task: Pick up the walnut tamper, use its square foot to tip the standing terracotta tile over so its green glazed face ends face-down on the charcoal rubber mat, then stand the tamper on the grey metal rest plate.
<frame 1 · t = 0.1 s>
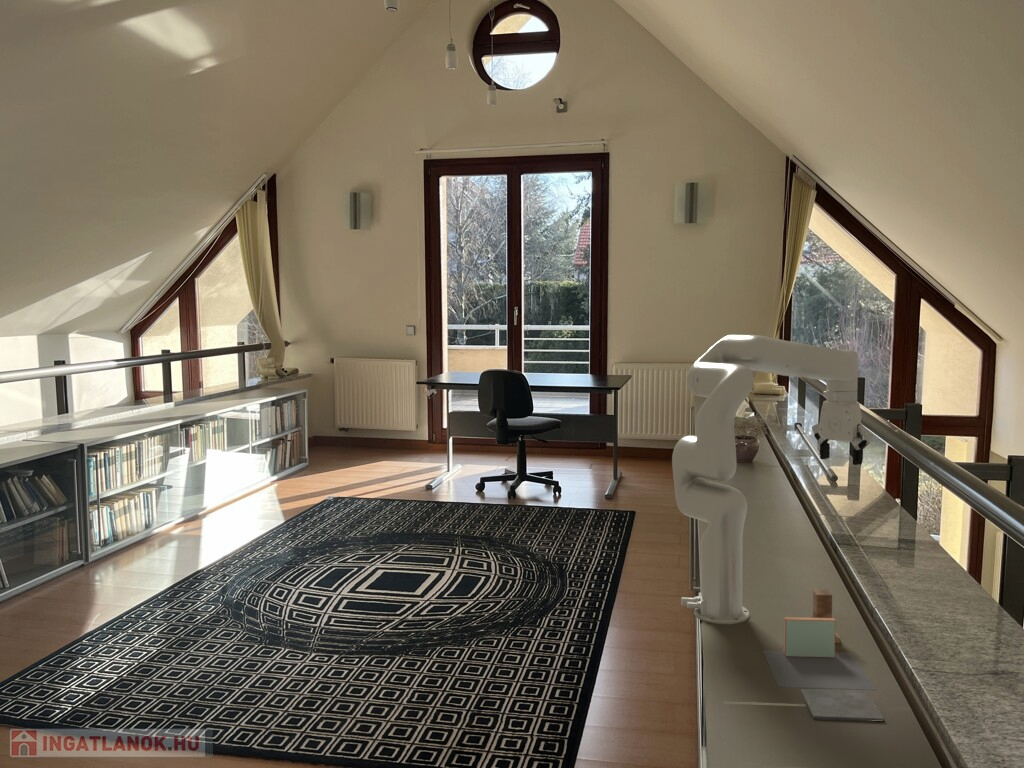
hand: (840, 461, 212), 31 cm above the table, tool pointing down, fingers open, 9 cm apart
tile: (809, 655, 167), resting on mat
rest plate: (840, 706, 147), on the table
mat: (816, 671, 161), on the table
tamper: (822, 638, 176), on the table
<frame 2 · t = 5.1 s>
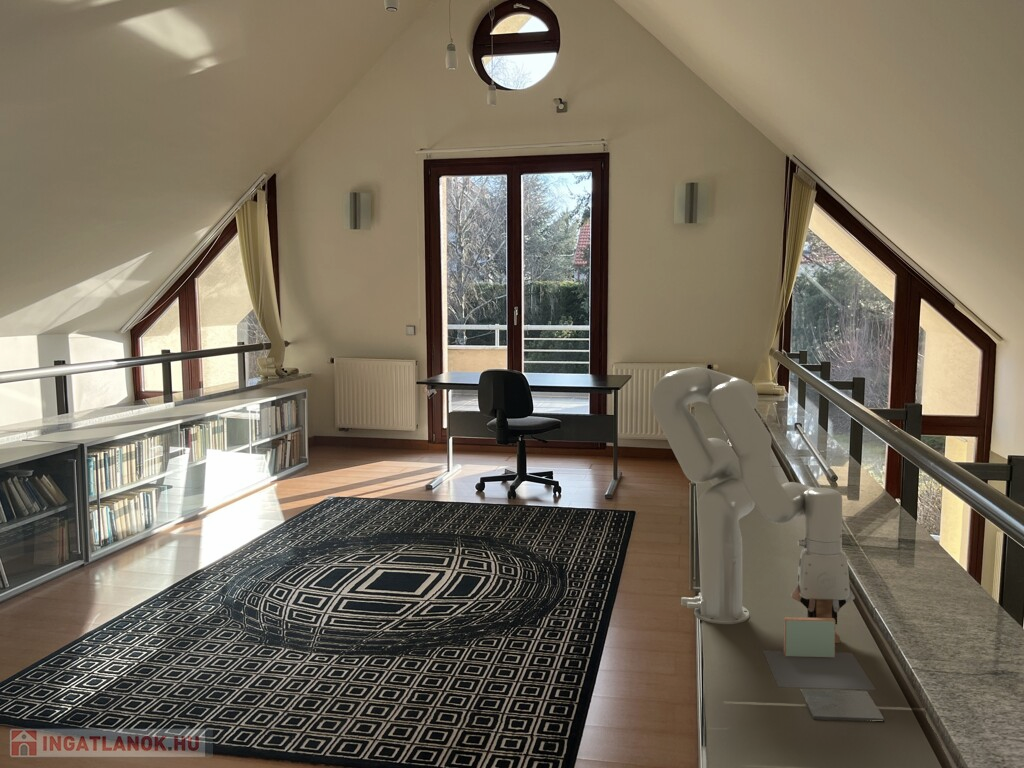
hand: (822, 626, 176), 3 cm above the table, tool pointing down, fingers closed on tamper, 3 cm apart
tamper: (822, 638, 176), on the table, touching gripper
everything else where it was.
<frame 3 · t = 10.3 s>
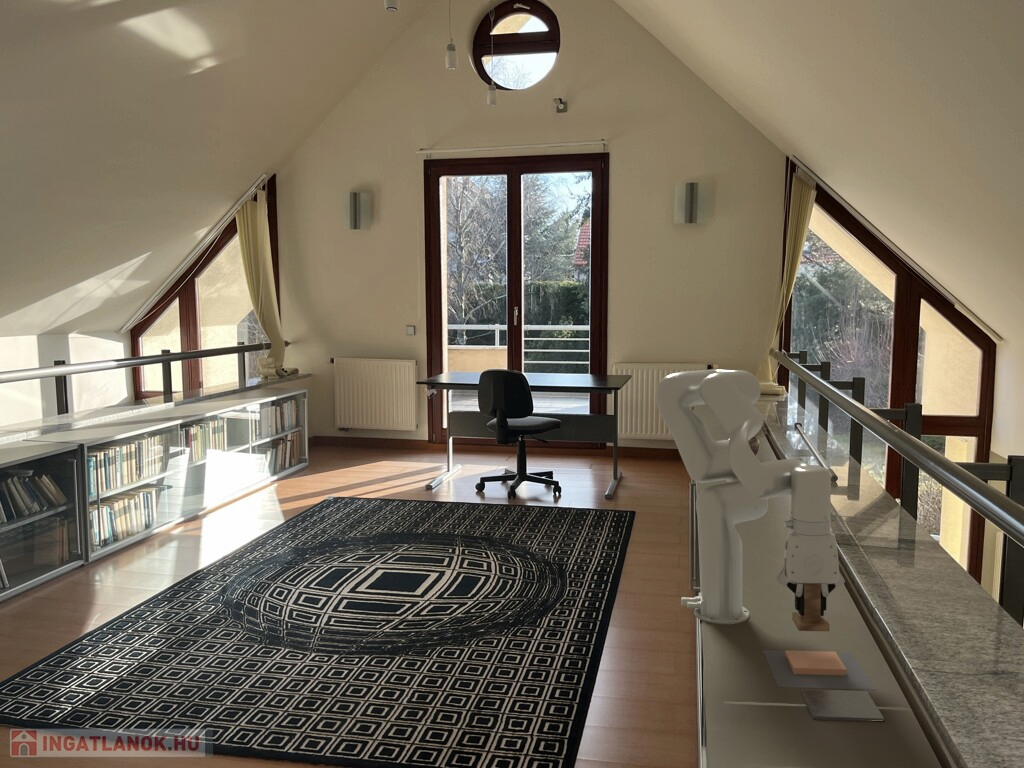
hand: (810, 612, 166), 10 cm above the table, tool pointing down, fingers closed on tamper, 3 cm apart
tile: (810, 654, 166), point 1 cm above the table, tilted 90°, touching mat
tamper: (810, 625, 166), point 7 cm above the table, touching gripper
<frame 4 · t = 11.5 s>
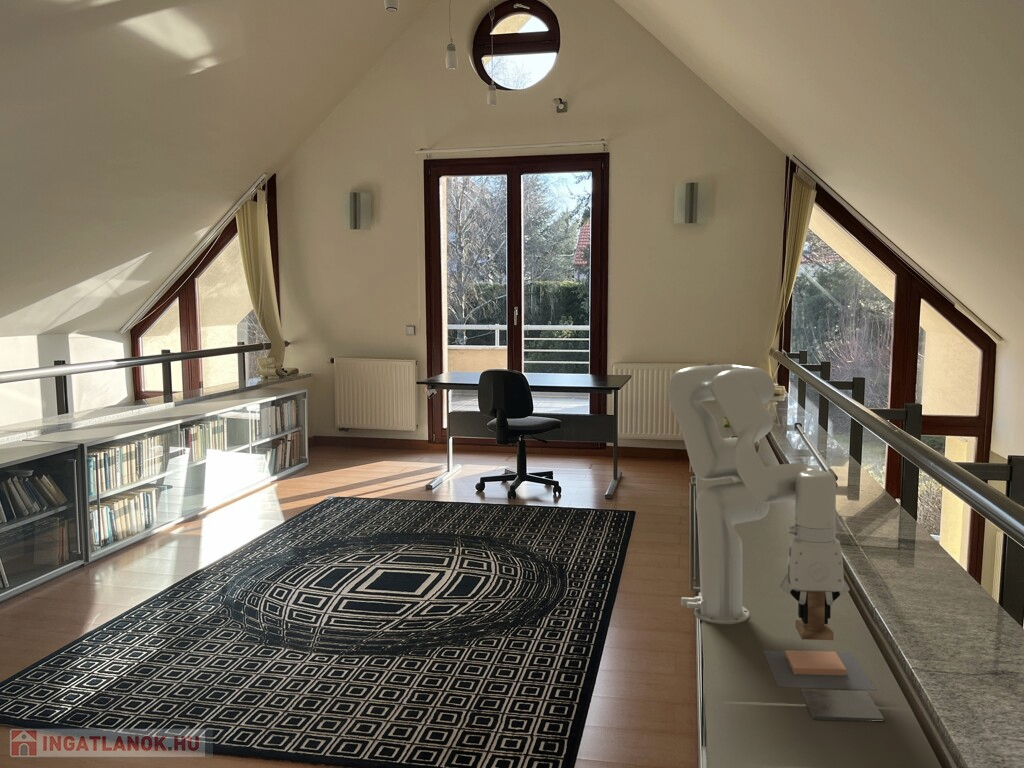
hand: (814, 620, 162), 10 cm above the table, tool pointing down, fingers closed on tamper, 3 cm apart
tamper: (814, 633, 163), point 7 cm above the table, touching gripper
everything else where it was.
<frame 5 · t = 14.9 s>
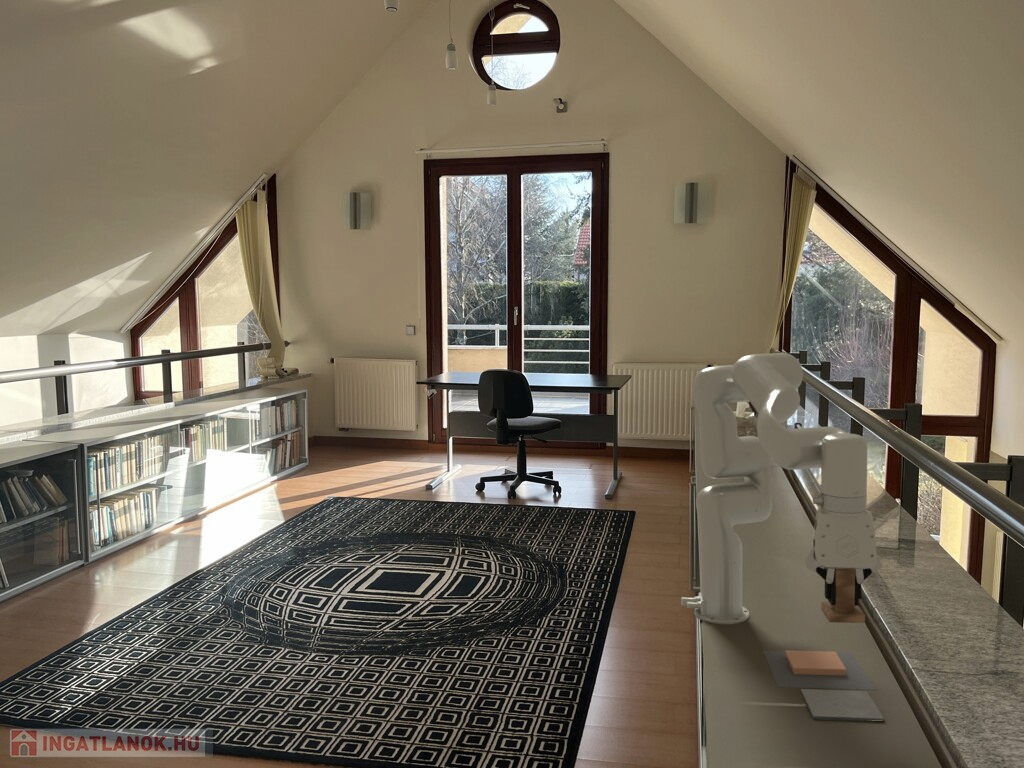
hand: (842, 601, 145), 20 cm above the table, tool pointing down, fingers closed on tamper, 3 cm apart
tamper: (842, 616, 145), point 17 cm above the table, touching gripper
everything else where it was.
when the fingers open (4 cm above the table, at t = 17.8 s): tamper stays where it is, resting on rest plate.
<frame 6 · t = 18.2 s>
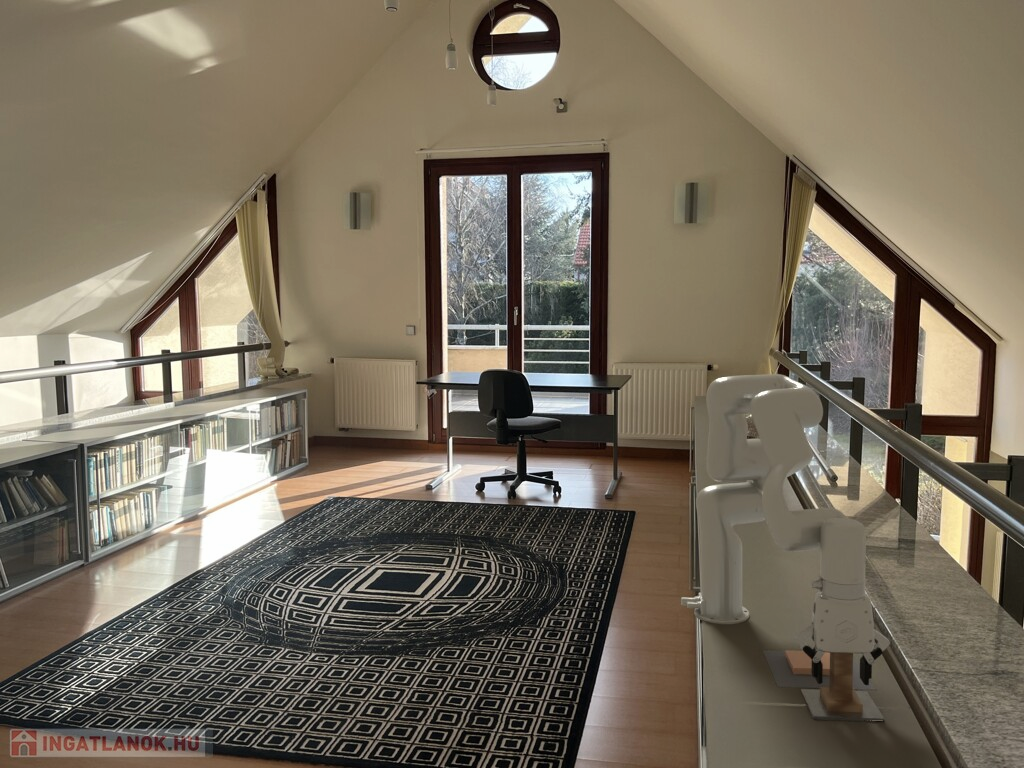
hand: (841, 680, 147), 5 cm above the table, tool pointing down, fingers open, 7 cm apart
tamper: (840, 703, 147), point 1 cm above the table, touching rest plate
everything else where it was.
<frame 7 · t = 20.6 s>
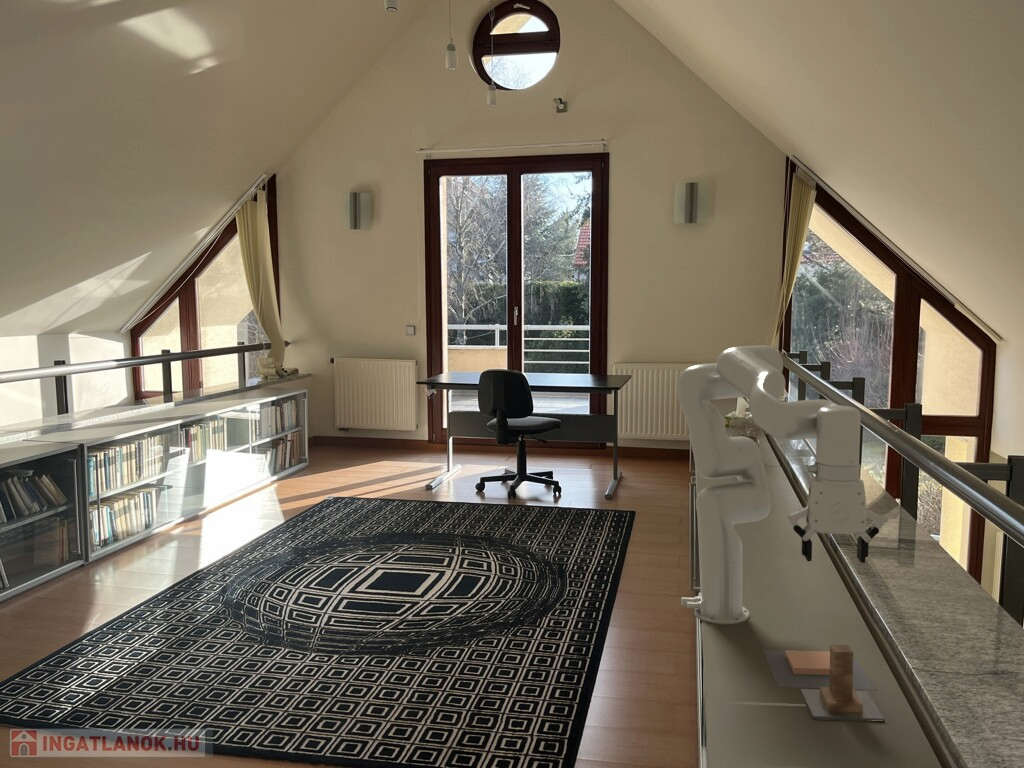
hand: (834, 559, 153), 25 cm above the table, tool pointing down, fingers open, 9 cm apart
nothing on the table moved.
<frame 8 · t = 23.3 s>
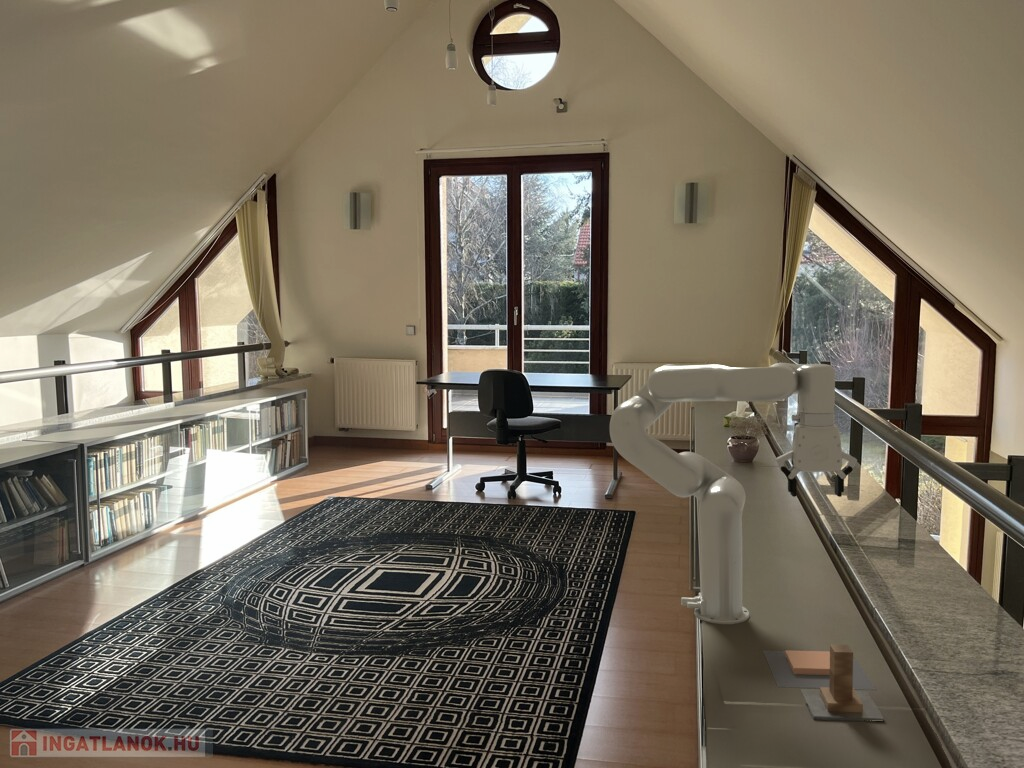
hand: (815, 495, 180), 30 cm above the table, tool pointing down, fingers open, 9 cm apart
nothing on the table moved.
at the end: tile tilted 90°; tile inside the target area (1.3 cm from its centre), point 1.1 cm above the table; tamper touching rest plate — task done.
